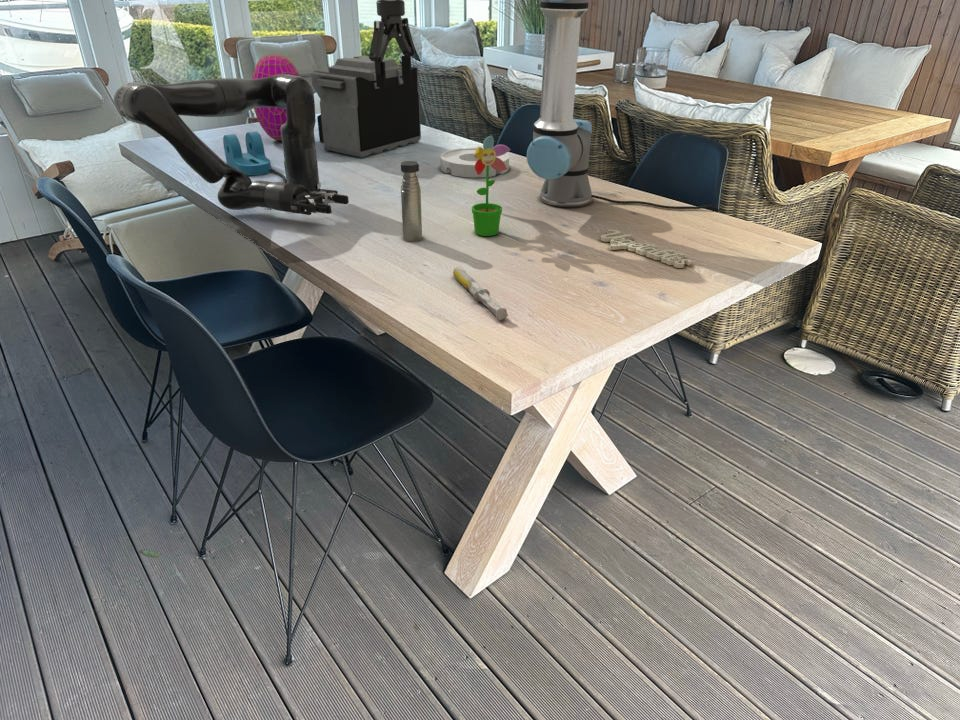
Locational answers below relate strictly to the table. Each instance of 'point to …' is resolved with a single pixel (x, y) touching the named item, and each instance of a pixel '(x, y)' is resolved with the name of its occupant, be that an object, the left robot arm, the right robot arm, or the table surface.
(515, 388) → the table surface
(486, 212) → the potted flower
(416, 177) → the bottle
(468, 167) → the ashtray
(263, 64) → the decorative egg
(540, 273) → the table surface
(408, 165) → the cap
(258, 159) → the camera mount
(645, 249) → the decorative sign
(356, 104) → the cooler box
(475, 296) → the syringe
